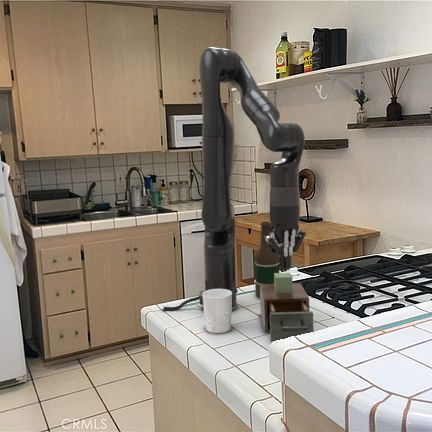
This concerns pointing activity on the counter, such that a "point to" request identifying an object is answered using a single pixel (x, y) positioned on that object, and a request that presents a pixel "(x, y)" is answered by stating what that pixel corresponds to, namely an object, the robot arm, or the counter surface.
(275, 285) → the block
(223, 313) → the white cup
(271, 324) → the drawer
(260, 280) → the beer bottle
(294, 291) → the cabinet
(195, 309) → the counter surface
